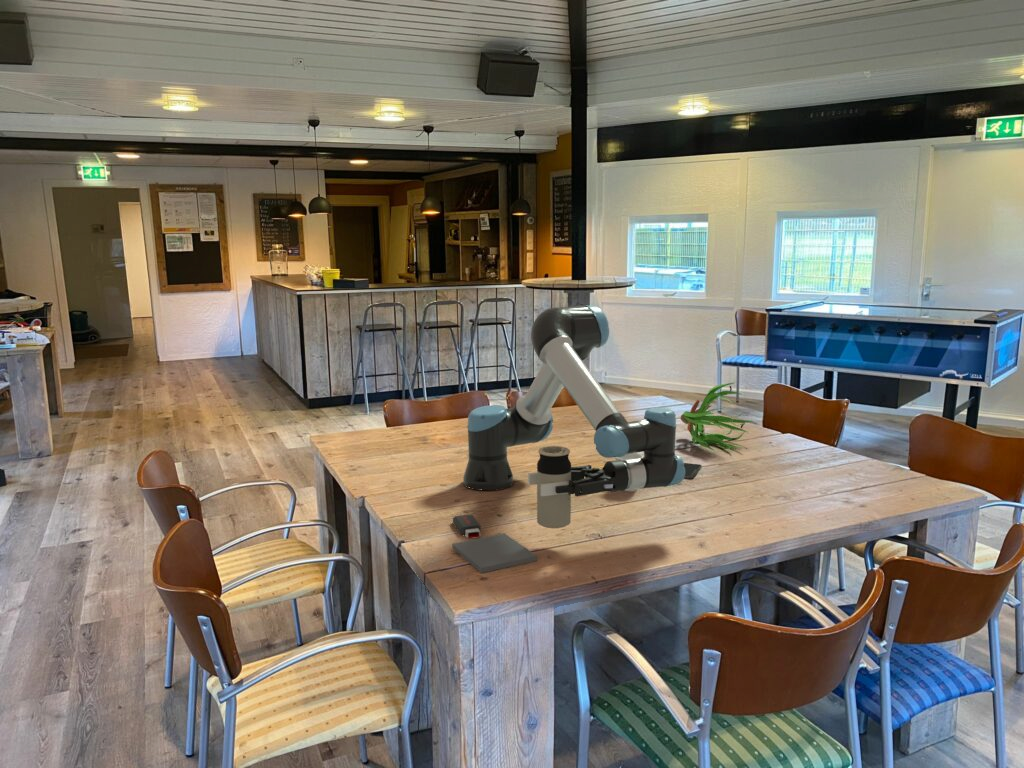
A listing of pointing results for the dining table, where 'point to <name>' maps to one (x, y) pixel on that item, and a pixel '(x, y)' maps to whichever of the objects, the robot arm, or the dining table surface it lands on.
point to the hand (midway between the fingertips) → (534, 484)
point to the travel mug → (552, 470)
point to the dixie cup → (629, 456)
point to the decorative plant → (711, 420)
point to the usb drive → (467, 525)
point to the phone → (691, 470)
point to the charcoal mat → (494, 552)
